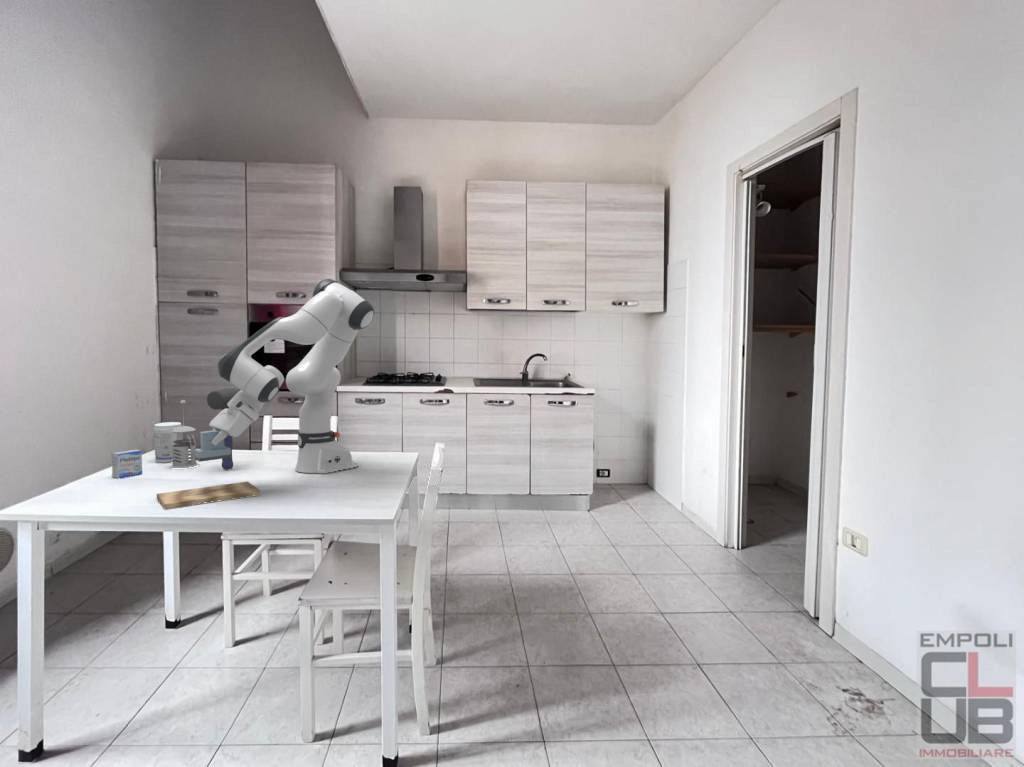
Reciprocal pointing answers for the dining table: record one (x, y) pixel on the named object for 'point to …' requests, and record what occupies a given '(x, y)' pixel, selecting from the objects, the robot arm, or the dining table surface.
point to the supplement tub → (165, 441)
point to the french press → (184, 447)
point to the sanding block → (211, 448)
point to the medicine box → (126, 463)
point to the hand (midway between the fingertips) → (210, 443)
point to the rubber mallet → (219, 401)
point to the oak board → (207, 494)
